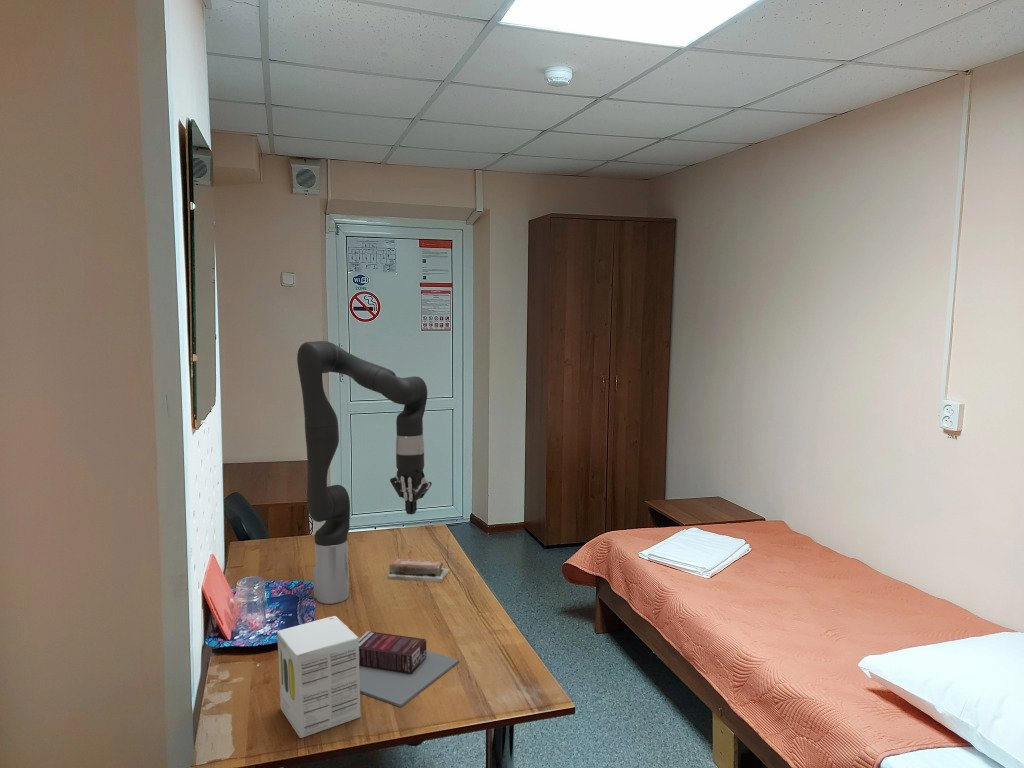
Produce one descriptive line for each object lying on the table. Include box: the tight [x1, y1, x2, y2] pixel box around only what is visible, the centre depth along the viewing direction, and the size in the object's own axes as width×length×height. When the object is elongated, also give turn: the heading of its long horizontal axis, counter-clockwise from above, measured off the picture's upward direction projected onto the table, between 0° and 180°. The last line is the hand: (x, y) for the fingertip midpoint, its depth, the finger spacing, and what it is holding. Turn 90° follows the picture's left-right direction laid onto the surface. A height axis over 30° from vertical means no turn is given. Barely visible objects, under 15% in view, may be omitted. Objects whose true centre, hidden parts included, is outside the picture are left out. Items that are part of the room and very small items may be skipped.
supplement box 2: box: [359, 630, 427, 674], centre depth 167 cm, size 9×5×16 cm
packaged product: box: [386, 558, 450, 583], centre depth 223 cm, size 18×5×10 cm
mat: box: [359, 649, 460, 708], centre depth 164 cm, size 20×22×1 cm
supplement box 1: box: [276, 615, 362, 739], centre depth 146 cm, size 13×13×18 cm
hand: (411, 513), depth 191 cm, fingers closed
